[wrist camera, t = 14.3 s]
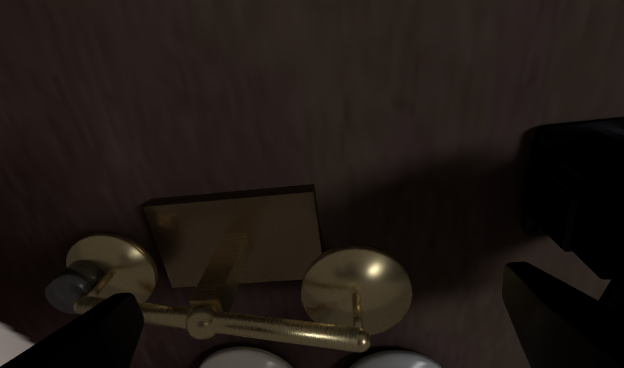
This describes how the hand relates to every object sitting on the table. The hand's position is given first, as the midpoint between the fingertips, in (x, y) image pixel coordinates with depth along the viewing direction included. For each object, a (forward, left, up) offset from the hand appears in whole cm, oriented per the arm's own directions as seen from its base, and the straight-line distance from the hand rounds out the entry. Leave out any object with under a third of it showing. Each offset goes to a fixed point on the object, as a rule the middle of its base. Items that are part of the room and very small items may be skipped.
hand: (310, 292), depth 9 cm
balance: (+6, +6, -12) cm, 14 cm away
